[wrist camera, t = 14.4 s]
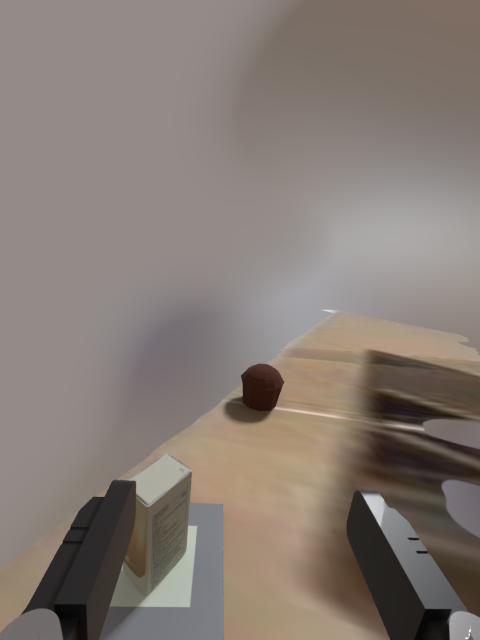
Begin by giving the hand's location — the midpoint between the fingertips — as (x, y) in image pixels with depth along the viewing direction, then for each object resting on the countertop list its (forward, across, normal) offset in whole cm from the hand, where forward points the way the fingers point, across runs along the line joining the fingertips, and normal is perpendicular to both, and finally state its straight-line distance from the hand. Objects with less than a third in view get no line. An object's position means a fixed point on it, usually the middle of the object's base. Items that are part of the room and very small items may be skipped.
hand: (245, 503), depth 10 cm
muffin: (+60, -11, +30) cm, 68 cm away
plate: (+18, +6, +30) cm, 35 cm away
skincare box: (+18, +6, +28) cm, 34 cm away
